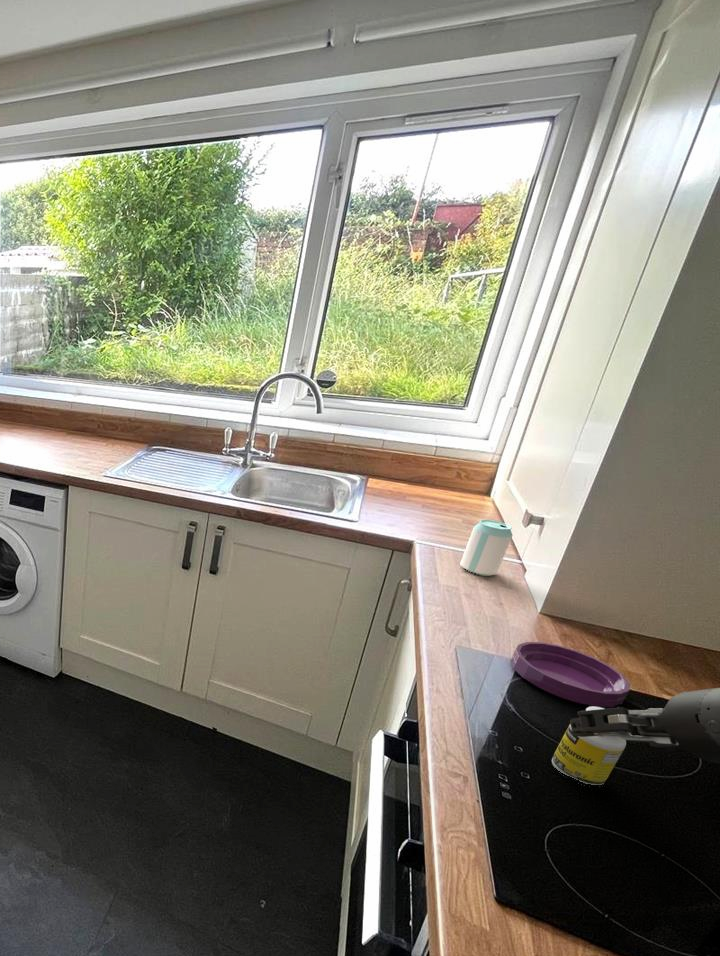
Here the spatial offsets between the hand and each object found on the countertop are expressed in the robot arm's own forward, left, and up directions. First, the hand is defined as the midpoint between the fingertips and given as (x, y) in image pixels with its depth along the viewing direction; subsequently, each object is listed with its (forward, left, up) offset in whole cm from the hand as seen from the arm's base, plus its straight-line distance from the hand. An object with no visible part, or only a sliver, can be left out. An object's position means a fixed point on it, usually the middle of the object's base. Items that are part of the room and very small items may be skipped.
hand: (611, 733), depth 75 cm
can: (+47, -56, -9) cm, 74 cm away
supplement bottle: (+1, -1, -9) cm, 9 cm away
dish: (+14, -24, -8) cm, 29 cm away
